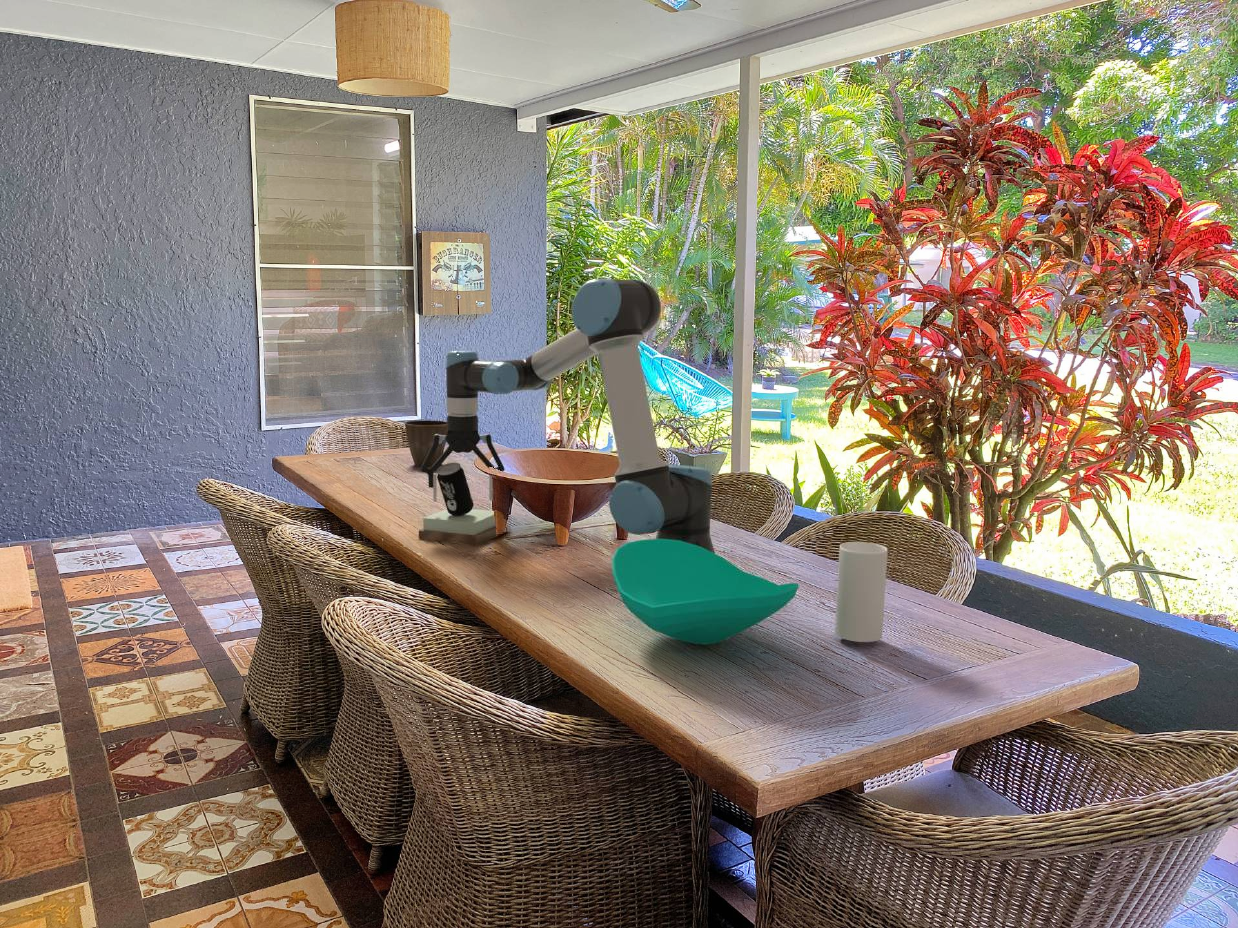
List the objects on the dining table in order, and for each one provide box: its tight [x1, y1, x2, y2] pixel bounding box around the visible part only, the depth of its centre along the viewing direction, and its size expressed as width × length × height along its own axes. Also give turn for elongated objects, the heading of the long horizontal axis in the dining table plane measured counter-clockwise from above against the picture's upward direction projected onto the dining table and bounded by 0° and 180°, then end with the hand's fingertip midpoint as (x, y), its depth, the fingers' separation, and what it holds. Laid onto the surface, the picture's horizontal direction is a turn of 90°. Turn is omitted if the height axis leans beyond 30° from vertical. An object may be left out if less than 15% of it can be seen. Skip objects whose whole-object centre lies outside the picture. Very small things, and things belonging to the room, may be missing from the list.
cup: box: [834, 541, 888, 643], centre depth 174 cm, size 8×8×16 cm
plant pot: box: [404, 419, 447, 468], centre depth 338 cm, size 15×15×16 cm
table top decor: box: [611, 538, 799, 645], centre depth 171 cm, size 40×28×13 cm
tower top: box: [422, 508, 496, 535], centre depth 243 cm, size 14×14×3 cm
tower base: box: [418, 526, 508, 547], centre depth 243 cm, size 16×16×3 cm
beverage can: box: [436, 462, 475, 516], centre depth 239 cm, size 7×7×12 cm
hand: (463, 500), depth 242 cm, fingers open, 13 cm apart
